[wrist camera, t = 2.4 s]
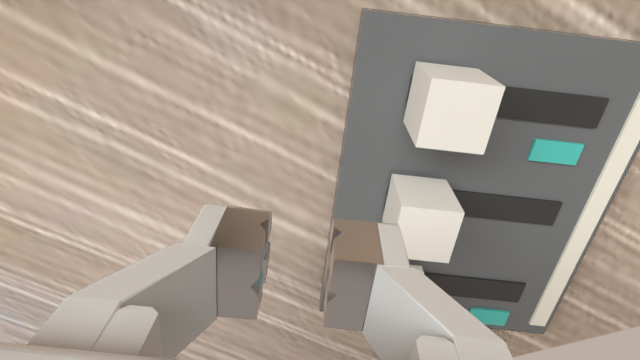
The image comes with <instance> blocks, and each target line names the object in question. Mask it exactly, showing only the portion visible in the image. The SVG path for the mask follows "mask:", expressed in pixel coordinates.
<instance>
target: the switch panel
mask: <svg viewBox="0 0 640 360" xmlns="http://www.w3.org/2000/svg"><path fill="white" fill-rule="evenodd" d="M416 61H418V62H426V63H435V64H443V65H452V66H460V67H469V68H477V69H480V70H481V71H483V72H484V73H486V74H487V75H489V76H490V77H492V78H493V79H495V80H496V81H498V82H499V83H501V84H502V85H504V86H505V91H504V94H503V97H502V100H501V103H500V106H499V109H498V112H497V115H496V118H495V121H494V125H493V128H492V131H491V134H490V137H489V140H488V143H487V146H486V149H485V152H484V155H481V154H472V153H463V152H454V151H445V150H436V149H427V148H418V147H415V145H414V143H413V141H412V139H411V136H410V134H409V132H408V130H407V128H406V126H405V124H404V122H403V120H404V115H405V111H406V106H407V101H408V97H409V92H410V87H411V83H412V78H413V73H414V69H415V64H416ZM639 148H640V41H633V40H625V39H616V38H608V37H600V36H591V35H583V34H575V33H567V32H558V31H550V30H542V29H533V28H525V27H517V26H508V25H500V24H492V23H484V22H475V21H467V20H459V19H450V18H442V17H434V16H426V15H417V14H409V13H401V12H392V11H384V10H376V9H368V8H362V12H361V19H360V26H359V33H358V39H357V46H356V53H355V60H354V67H353V74H352V81H351V88H350V95H349V102H348V109H347V115H346V122H345V129H344V136H343V143H342V150H341V157H340V164H339V171H338V178H337V185H336V191H335V198H334V205H333V212H332V219H331V226H332V221H333V219H345V220H356V221H368V222H382V223H383V221H382V218H383V214H384V209H385V204H386V200H387V195H388V190H389V186H390V181H391V176H392V174H400V175H409V176H418V177H427V178H436V179H445V180H447V181H448V183H449V185H450V187H451V189H452V191H453V192H454V194H455V196H456V198H457V200H458V201H459V203H460V205H461V207H462V209H463V211H464V212H465V214H464V217H463V220H462V223H461V227H460V230H459V233H458V236H457V239H456V242H455V245H454V248H453V251H452V254H451V257H450V261H449V263H441V262H431V261H422V260H412V259H408V260H409V264H410V265H418V266H422V268H423V271H424V275H425V276H426V277H428V278H429V279H430V280H431V281H432V282H434V283H435V284H436V285H437V286H438V287H440V288H441V289H442V290H443V291H444V292H446V293H447V294H448V295H449V296H450V297H452V298H453V299H454V300H455V301H456V302H458V303H459V304H460V305H461V306H462V307H464V308H465V309H466V310H467V311H468V312H470V313H471V314H472V315H473V316H474V317H476V318H477V319H478V320H479V321H480V322H482V323H483V324H484V325H485V326H486V327H488V328H491V329H501V330H511V331H521V332H530V333H540V334H544V333H545V331H546V329H547V327H548V325H549V323H550V321H551V319H552V317H553V315H554V313H555V311H556V310H557V308H558V306H559V304H560V302H561V300H562V298H563V296H564V294H565V292H566V290H567V288H568V286H569V284H570V282H571V280H572V278H573V276H574V275H575V273H576V271H577V269H578V267H579V265H580V263H581V261H582V259H583V257H584V255H585V253H586V251H587V249H588V247H589V245H590V243H591V241H592V240H593V238H594V236H595V234H596V232H597V230H598V228H599V226H600V224H601V222H602V220H603V218H604V216H605V214H606V212H607V210H608V208H609V206H610V205H611V203H612V201H613V199H614V197H615V195H616V193H617V191H618V189H619V187H620V185H621V183H622V181H623V179H624V177H625V175H626V173H627V171H628V170H629V168H630V166H631V164H632V162H633V160H634V158H635V156H636V154H637V152H638V150H639ZM331 226H330V233H331ZM330 233H329V240H328V247H327V253H328V249H329V248H330ZM326 261H327V254H326ZM326 261H325V267H324V274H323V281H322V288H321V295H320V311H323V312H324V300H325V293H326V290H325V289H324V285H325V270H326Z"/></svg>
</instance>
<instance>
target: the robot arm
mask: <svg viewBox="0 0 640 360" xmlns="http://www.w3.org/2000/svg"><path fill="white" fill-rule="evenodd" d="M271 224H272V211H267V210H259V209H251V208H244V207H236V206H227V205H220V204H210V203H207V204H205V205H204V206H203V207H202V209H201V211H200V212H199V214H198V216H197V218H196V220H195V221H194V223H193V225H192V227H191V228H190V230H189V232H188V234H187V236H186V237H185V239H184V241H183V243H174V244H172V245H170V246H168V247H166V248H164V249H162V250H160V251H158V252H156V253H154V254H152V255H150V256H148V257H146V258H144V259H142V260H140V261H138V262H136V263H134V264H132V265H130V266H128V267H126V268H124V269H122V270H120V271H118V272H116V273H113V274H111V275H109V276H107V277H105V278H103V279H101V280H99V281H97V282H95V283H93V284H91V285H89V286H87V287H85V288H83V289H81V290H79V291H77V292H75V293H73V294H71V295H69V296H67V297H66V299H65V300H64V301H63V302H62V303H61V305H60V306H59V307H58V308H57V309H56V311H55V312H54V313H53V314H52V315H51V317H50V318H49V319H48V320H47V321H46V323H45V324H44V325H43V326H42V327H41V329H40V330H39V331H38V332H37V333H36V335H35V336H34V337H33V338H32V340H31V341H30V342H29V343H28V344H27V345H24V344H14V343H4V342H0V360H174V359H173V358H174V357H176V356H177V355H178V354H179V353H180V352H181V351H182V350H183V349H184V348H185V347H186V346H188V345H189V344H190V343H191V342H192V341H193V340H194V339H195V338H196V337H197V336H198V335H200V334H201V333H202V332H203V331H204V330H205V329H206V328H207V327H208V326H209V325H211V324H212V323H213V322H214V321H215V320H216V319H217V317H229V318H242V319H256V320H257V315H258V311H259V307H260V302H261V298H262V285H263V284H264V283H265V280H266V275H267V269H268V262H269V253H270V242H269V241H268V240H269V235H270V231H271ZM324 289H325V290H326V293H325V300H324V327H331V328H339V329H347V330H354V331H362V334H363V335H364V337H365V338H366V340H367V341H368V343H369V344H370V346H371V347H372V349H373V350H374V352H375V353H376V355H377V356H378V358H379V359H380V360H513V358H512V356H511V353H510V351H509V349H508V347H507V345H506V343H505V342H504V341H503V340H502V339H501V338H500V337H498V336H497V335H496V334H495V333H494V332H492V331H491V330H490V329H489V328H488V327H486V326H485V325H484V324H483V323H482V322H480V321H479V320H478V319H477V318H476V317H474V316H473V315H472V314H471V313H470V312H468V311H467V310H466V309H465V308H464V307H462V306H461V305H460V304H459V303H458V302H456V301H455V300H454V299H453V298H452V297H450V296H449V295H448V294H447V293H446V292H444V291H443V290H442V289H441V288H440V287H438V286H437V285H436V284H435V283H434V282H432V281H431V280H430V279H429V278H428V277H426V276H425V275H424V274H423V273H422V272H420V271H419V270H418V269H416V268H411V267H410V264H409V260H408V256H407V252H406V249H405V245H404V241H403V238H402V234H401V230H400V227H399V225H398V224H396V223H382V222H368V221H356V220H345V219H333V221H332V226H331V233H330V248H329V249H328V253H327V261H326V270H325V285H324Z"/></svg>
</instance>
